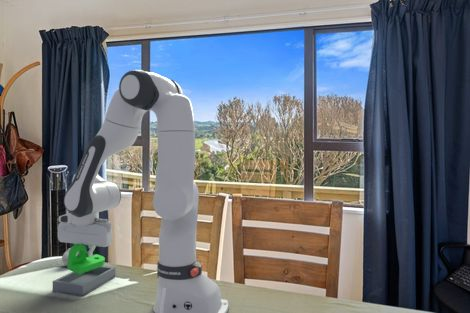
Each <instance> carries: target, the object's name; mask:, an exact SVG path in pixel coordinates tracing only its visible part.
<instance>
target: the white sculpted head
mask: <svg viewBox="0 0 470 313" xmlns="http://www.w3.org/2000/svg"><path fill="white" fill-rule="evenodd" d="M70 249H71V247H70V248H67V250H66V251H65V252H64V253H63V255H62V256H61V262H63V265H64V266H65V267H67V265H68V255H69V251H70ZM76 256H77V253H76Z"/></svg>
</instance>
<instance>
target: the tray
mask: <svg viewBox="0 0 470 313" xmlns="http://www.w3.org/2000/svg"><path fill="white" fill-rule="evenodd" d="M115 278H116V267H113V266H106V265H103V266H101V267H98V268H95V269H93V270H90V271H87V272H84V273H82V274H77V273H75V272H73V271H70V272H69V273H67V274H65V275H63V276H61V277H59V278H56V279H55V280H52V293H58V294H65V295H70V296H71V295H72V296H77V297H85V296H87V295H88V294H90V293H91V292H93V291H95V290H96V289H98V288H99V287H101V286H103V285H105V284H106V283H108V282H109V281H111V280H113V279H115Z"/></svg>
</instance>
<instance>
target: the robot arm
mask: <svg viewBox="0 0 470 313" xmlns="http://www.w3.org/2000/svg"><path fill="white" fill-rule="evenodd" d="M118 84H119V85H118V89H117V90H116V91H115V92H114V94H113V96H112V97H111V100H110V102H109V104H108V106H107V109H106V110H107V111H106V113H105V117H104V121H103V123H102V125H101V127H100V129H99V130H98V132H97V134H96V135H95V136H94V137H92V139H90V140H89V142H88V144H87V146H86V148H85V151H84V153H83V155H82V158H81V160H80V163H79V164H78V168H77V170H76V172H75V173H74V174H73V177H72V180H71V183H70V185H69V186H68V188H67V190H65V194H64V197H63V205H64V207H65V209H66V210H67V212H68V213H66V214H62V215H59V216H58V222H59V223H58V225H57V239H58V241H59V242H60V243H65V244H67V243H68V244H74V245H75V244H81V245H83V246H88V249H89V250H88V251H86V257H88V258H91V257H92V256H93V255H94V253H93V252H94V251H95V249H96V248H97V247H99V248H100V247H102V248H106V247H109V246H111V245H112V243H113V239H114V238H113V230H112V222H111V221H109V220H108V219H107V218H99V217H100V215H99V214H100V212H104V211H110V210H113V209H115V208H117V207H118V206H119V204H120V202H121V200H122V199H121V198H122V193H121V188H120V186H118V184H117V183H116V182H113V181H110V180H108V179H105V178H103V177H102V176H100V175H99V171H100V169H101V168H102V167H101V166H102V165H103V163H104V162H105V161H106V160H107V159H109V158H110V157H112V156H114V155H116V154H117V153H120V152H123V151H125V150H127V149H129V148H130V147H132V146H133V145H134V143H135V142H136V141H137V139H138V136H139V134H140V128H141V125H142V120H143V118H144V115H145V114H146V113H147V112H148V111H152V112H153V113H154V115H155V116H156V122H157V123H156V124H157V125H156V128H157V129H156V131H157V133H156V134H157V135H156V136H157V165H156V171H155V183H154V193H153V198H152V207H153V210H154V211H155V213H156V214H157V215H158V217H160V218H161V222H160V229H159V234H158V261H157V264H156V265H157V267H156V270H157V271H156V272H157V273H156V276H157V279H158V280H157V289H156V294H155V295H156V296H155V300H154V304H153V308H152V311H153V313H228V310H229V308H230V307H229V301H228V300H227V299H223V298H222V294H221V289H220V287H219V285H218V284H217V283H216V282H214V281H213V280H211V279H210V277H208V276H207V275H206V274H204V272H203V267H204V262H205V261H202V262H201V263H200V261H198V258H197V229H198V228H197V227H198V216H199V215H198V214H199V197H200V196H199V194H200V190H199V187H198V185H197V184H196V182H195V179H194V178H195V165H196V125H195V124H196V123H195V116H194V109H193V106H192V102H191V100H190V98H188V97H187V96H185V95H183V89H182V88H181V85H180V84H178V83H177V81H174V80H173V79H171V78H167V77H165V76H162V75H160V74H158V73H155V72H149V71H144V70H143V69H132V70H129V71H127V72H125V73H124V74H123V75H122V77H121V78H120V80H119V83H118ZM78 254H79V251H78V252H77V255H78Z"/></svg>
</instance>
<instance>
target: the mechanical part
mask: <svg viewBox="0 0 470 313" xmlns="http://www.w3.org/2000/svg"><path fill="white" fill-rule="evenodd" d="M70 248H71V249H70V251H69V255H68V265H67V266H66V267H67V268H66V269H67V270H68V271H70V272H75V273H77V274H82V273H84V272H87V271H90V270H93V269H95V268H98V267H101V266H105V260H106V258H105V257H104V256H103V255H100V254H97V253H96V254H93V256H92V257H91V258H88V257H86V252H87V248H86V245H81V244H75V245H73V246H72V247H70ZM78 251H79V254H78V255H77V256H76V253H77V252H78Z"/></svg>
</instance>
